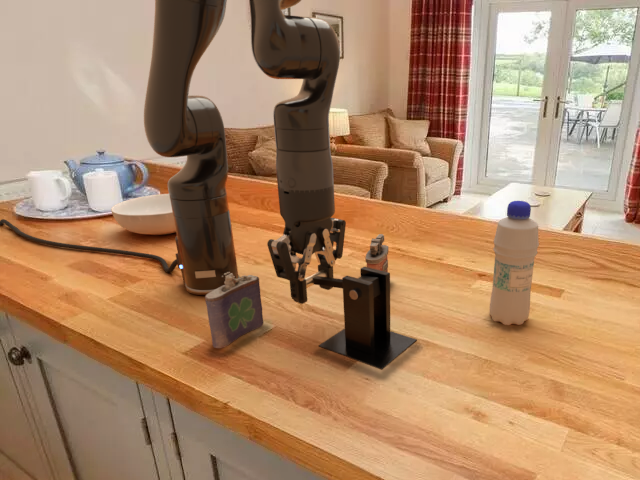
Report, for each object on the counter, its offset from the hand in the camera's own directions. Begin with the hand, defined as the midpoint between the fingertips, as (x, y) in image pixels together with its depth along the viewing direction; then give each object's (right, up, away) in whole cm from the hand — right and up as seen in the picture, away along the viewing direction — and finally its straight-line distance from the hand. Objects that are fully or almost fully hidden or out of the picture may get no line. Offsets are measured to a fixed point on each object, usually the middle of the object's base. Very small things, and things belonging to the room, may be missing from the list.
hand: (313, 294), depth 73 cm
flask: (-11, -7, 0) cm, 13 cm away
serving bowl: (-47, +15, +50) cm, 70 cm away
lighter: (+9, 0, +17) cm, 19 cm away
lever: (+5, +1, -3) cm, 6 cm away
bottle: (+30, -5, +6) cm, 31 cm away
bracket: (+8, -8, -2) cm, 12 cm away
